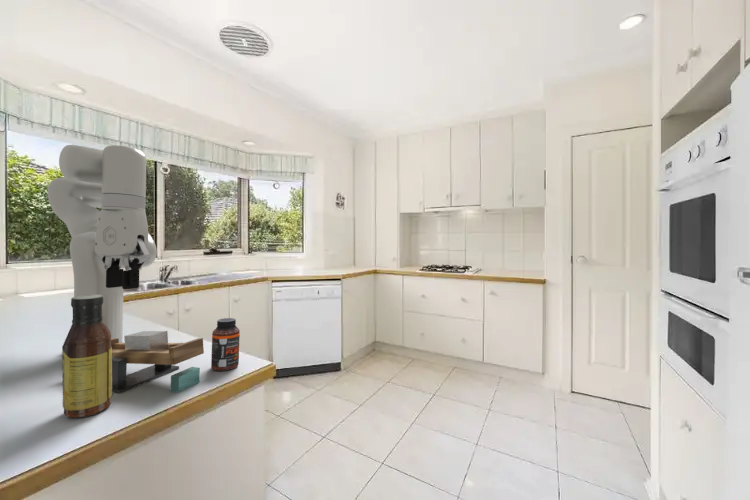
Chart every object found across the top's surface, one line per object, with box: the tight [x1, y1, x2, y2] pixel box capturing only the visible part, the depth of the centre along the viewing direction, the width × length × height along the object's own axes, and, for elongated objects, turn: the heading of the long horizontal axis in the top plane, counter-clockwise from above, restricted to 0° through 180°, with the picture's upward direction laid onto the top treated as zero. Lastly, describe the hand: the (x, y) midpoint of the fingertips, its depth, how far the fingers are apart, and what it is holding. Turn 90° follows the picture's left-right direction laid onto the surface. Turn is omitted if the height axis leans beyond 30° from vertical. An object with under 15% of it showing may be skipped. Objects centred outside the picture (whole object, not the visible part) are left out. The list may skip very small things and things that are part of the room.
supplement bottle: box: [210, 317, 241, 372], centre depth 74 cm, size 6×6×11 cm
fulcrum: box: [112, 357, 201, 394], centre depth 67 cm, size 26×13×6 cm, turn 74°
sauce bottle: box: [61, 295, 113, 419], centre depth 53 cm, size 6×6×20 cm
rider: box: [123, 330, 169, 351], centre depth 67 cm, size 7×4×4 cm, turn 74°
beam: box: [111, 337, 205, 366], centre depth 67 cm, size 26×8×6 cm, turn 74°
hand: (122, 286), depth 68 cm, fingers open, 4 cm apart
